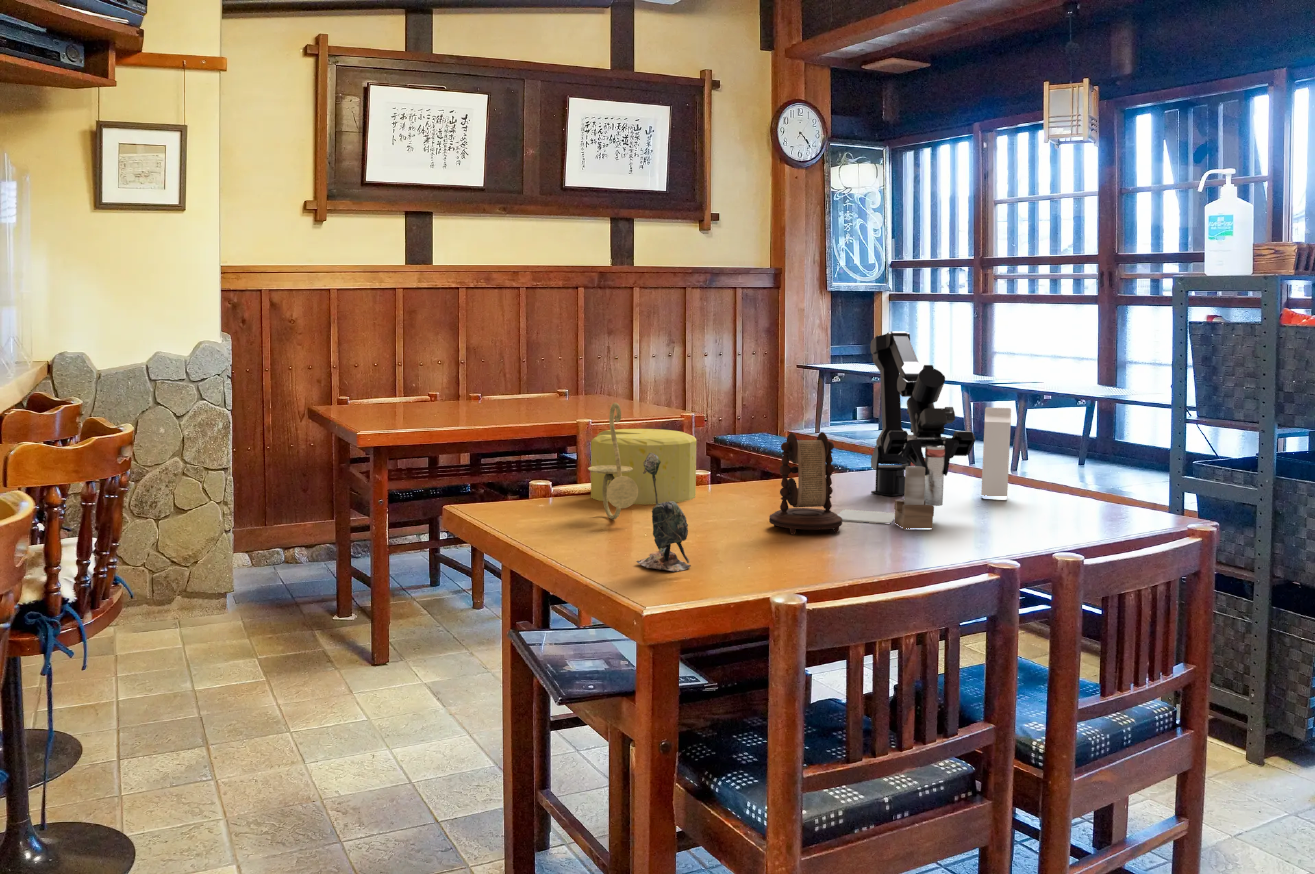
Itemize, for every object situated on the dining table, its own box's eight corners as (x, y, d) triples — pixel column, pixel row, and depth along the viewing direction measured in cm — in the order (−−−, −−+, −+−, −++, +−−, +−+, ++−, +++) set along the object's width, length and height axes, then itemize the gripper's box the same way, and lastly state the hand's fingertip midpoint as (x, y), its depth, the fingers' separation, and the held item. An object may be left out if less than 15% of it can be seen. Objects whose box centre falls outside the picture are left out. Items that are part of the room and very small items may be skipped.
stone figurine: (659, 577, 183) (660, 458, 180) (631, 563, 193) (632, 450, 190) (702, 573, 186) (704, 456, 184) (673, 559, 196) (674, 448, 194)
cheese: (565, 493, 266) (565, 432, 265) (647, 483, 284) (647, 425, 282) (635, 508, 247) (636, 442, 245) (718, 497, 264) (719, 434, 263)
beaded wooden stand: (785, 538, 216) (787, 437, 214) (758, 524, 230) (760, 429, 228) (854, 535, 220) (857, 435, 218) (823, 521, 234) (826, 428, 232)
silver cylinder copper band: (920, 502, 237) (923, 444, 236) (939, 502, 238) (941, 445, 236) (926, 505, 233) (928, 447, 232) (945, 505, 233) (947, 447, 232)
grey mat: (844, 511, 247) (844, 509, 246) (898, 515, 242) (898, 513, 242) (833, 520, 235) (833, 518, 235) (890, 524, 231) (890, 522, 231)
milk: (981, 495, 270) (984, 406, 268) (1007, 497, 268) (1010, 407, 266) (981, 499, 264) (984, 408, 262) (1007, 501, 263) (1011, 408, 260)
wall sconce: (644, 524, 228) (645, 404, 226) (600, 526, 225) (601, 405, 222) (624, 512, 241) (625, 399, 239) (582, 514, 238) (583, 399, 236)
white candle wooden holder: (893, 523, 233) (895, 464, 231) (921, 523, 233) (924, 464, 232) (904, 530, 225) (906, 470, 224) (933, 530, 225) (935, 470, 224)
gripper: (889, 393, 236) (900, 451, 226) (974, 394, 237) (990, 451, 227) (878, 425, 245) (889, 482, 235) (961, 426, 246) (975, 483, 236)
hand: (936, 474), depth 233 cm, fingers closed on silver cylinder copper band, 4 cm apart
